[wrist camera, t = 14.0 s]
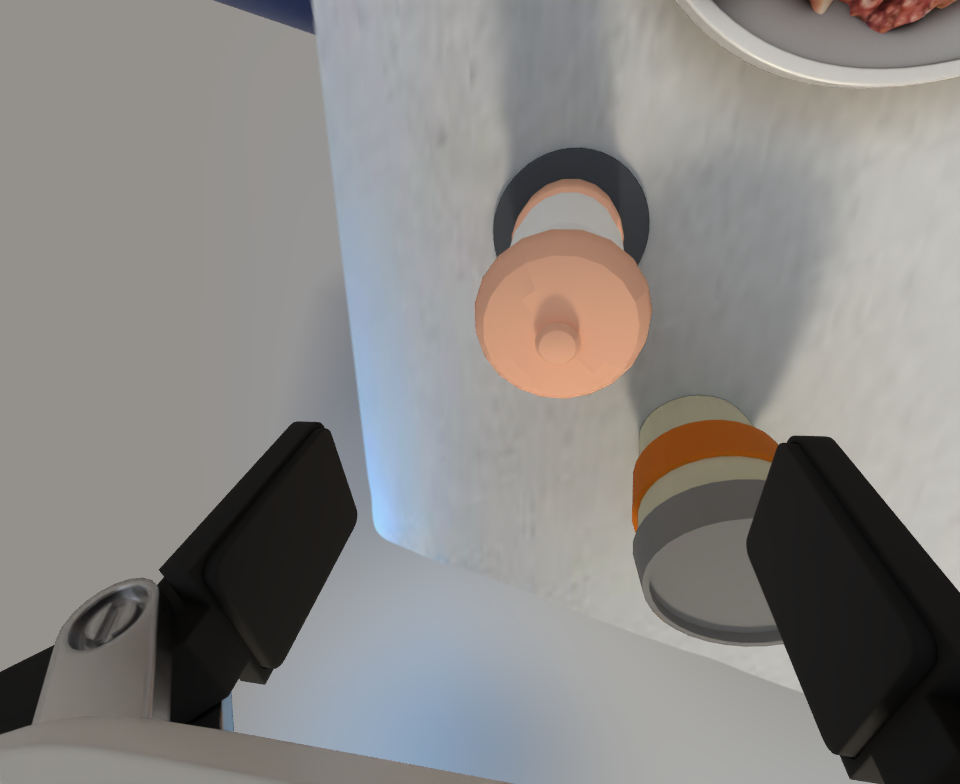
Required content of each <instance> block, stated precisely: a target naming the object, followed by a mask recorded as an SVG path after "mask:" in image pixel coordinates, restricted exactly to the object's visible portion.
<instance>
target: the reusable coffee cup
mask: <svg viewBox="0 0 960 784" xmlns="http://www.w3.org/2000/svg"><path fill="white" fill-rule="evenodd" d="M777 447H778V444H777V443H776V442H775V441H774V440H773V439H772V438H771V437H770V436H768V435H767V434H766V433H765V432H763V431H761V430H759V429H757V428H755V427H754V426H753V425H752V424H751V423H750V422H749V421H748V419H747V418H746V417H745V416H744V415H743V414H742V413H741V412H740V410H739V409H737V408H736V407H735V406H734V405H732V404H731V403H729V402H727V401H725V400H723V399H719V398H716V397H711V396H703V395H698V396H687V397H682V398H678V399H675V400H672V401H669V402H667V403H665V404H664V405H662V406H660V407H659V408H657V409H656V410H655V411H654V412H652V413H651V414H650V415H649V417H648V418H647V419H646V420H645V422H644V424H643V425H642V427H641V431H640V434H639V458H638V460H637V461H636V464H635V468H634V472H633V504H632V522H633V526H634V529H635V532H636V534H635V537H634V541H633V556H634V560H635V564H636V567H637V571H638V575H639V579H640V582H641V586H642V590H643V593H644V596H645V600H646V602H647V603H648V605H649V606H650V608H651V609H652V611H653V612H654V613H655V614H656V615H657V616H658V617H659V618H660V619H661V620H662V621H664V622H665V623H667V624H668V625H670V626H671V627H673V628H674V629H676V630H678V631H680V632H683V633H685V634H687V635H689V636H692V637H695V638H698V639H701V640H705V641H708V642H713V643H719V644H724V645H733V646H745V647H747V646H771V645H780V644H784V643H783V640H782V638H781V635H780V633H779V631H778V628H777V626H776V623H775V621H774V618H773V616H772V613H771V611H770V609H769V606H768V604H767V601H766V599H765V596H764V594H763V591H762V589H761V586H760V584H759V582H758V579H757V577H756V574H755V572H754V569H753V567H752V564H751V562H750V560H749V557H748V554H747V548H746V540H747V536H748V533H749V530H750V527H751V524H752V521H753V517H754V514H755V511H756V508H757V505H758V502H759V499H760V496H761V493H762V490H763V487H764V484H765V481H766V478H767V475H768V472H769V469H770V466H771V463H772V460H773V457H774V454H775V451H776V449H777Z"/></svg>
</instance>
